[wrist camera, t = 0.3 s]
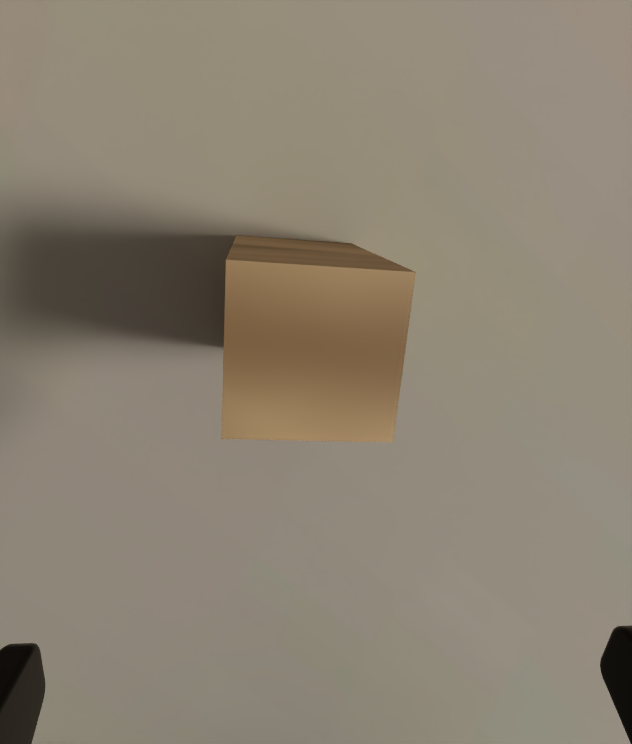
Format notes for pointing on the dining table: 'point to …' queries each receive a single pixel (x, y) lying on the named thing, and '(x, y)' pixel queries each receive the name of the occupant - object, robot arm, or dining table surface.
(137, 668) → the dining table surface
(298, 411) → the oak block
